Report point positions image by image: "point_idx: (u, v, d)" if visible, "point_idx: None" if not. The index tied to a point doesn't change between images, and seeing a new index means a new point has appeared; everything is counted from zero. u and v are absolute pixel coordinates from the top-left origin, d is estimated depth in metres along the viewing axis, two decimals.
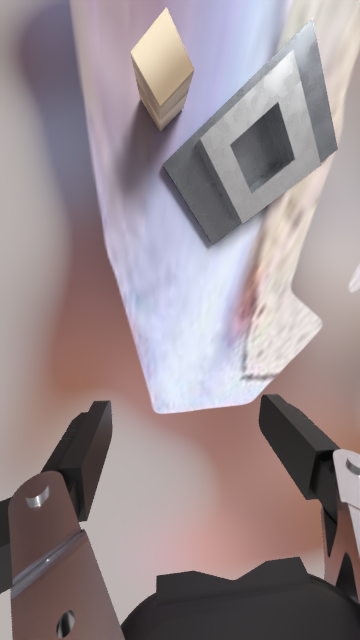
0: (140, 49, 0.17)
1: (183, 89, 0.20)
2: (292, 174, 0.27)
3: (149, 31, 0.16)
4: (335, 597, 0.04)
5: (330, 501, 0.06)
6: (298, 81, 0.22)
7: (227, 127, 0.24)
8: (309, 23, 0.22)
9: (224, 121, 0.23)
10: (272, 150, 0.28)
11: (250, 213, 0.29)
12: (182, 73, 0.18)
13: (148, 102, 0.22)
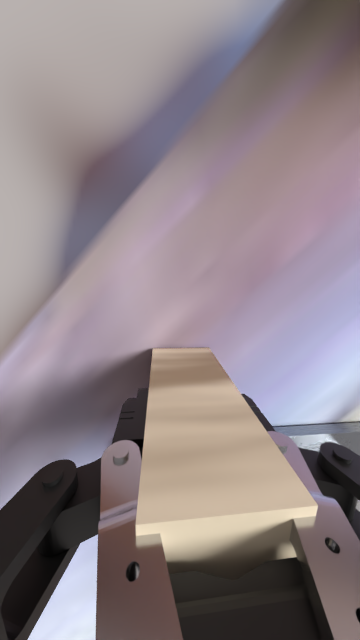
0: (175, 535, 0.04)
1: None
2: None
3: (234, 518, 0.04)
4: None
5: None
6: None
7: None
8: None
9: None
10: None
11: None
12: None
13: None
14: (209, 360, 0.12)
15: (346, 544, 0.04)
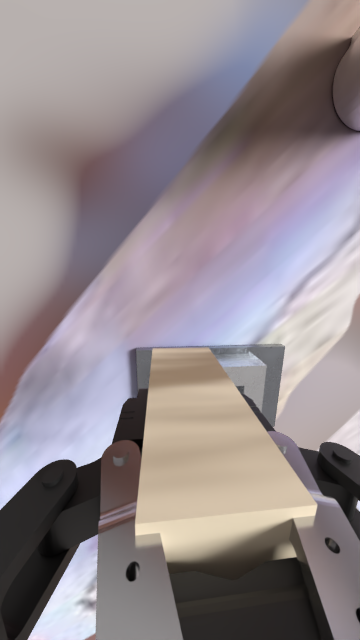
0: (174, 535, 0.04)
1: None
2: None
3: (234, 517, 0.04)
4: None
5: None
6: (262, 384, 0.26)
7: None
8: (282, 347, 0.29)
9: None
10: None
11: None
12: None
13: None
14: (209, 360, 0.12)
15: (346, 544, 0.04)
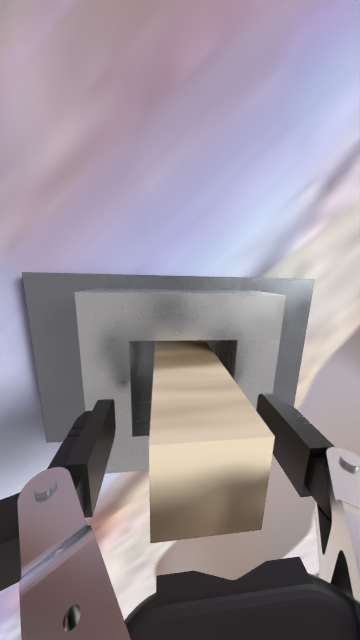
0: (175, 454, 0.06)
1: None
2: None
3: (216, 443, 0.06)
4: (335, 597, 0.04)
5: (324, 499, 0.07)
6: (276, 337, 0.12)
7: (138, 315, 0.11)
8: (309, 280, 0.16)
9: (137, 301, 0.11)
10: None
11: (115, 465, 0.13)
12: (235, 523, 0.07)
13: None
14: (204, 349, 0.14)
15: None
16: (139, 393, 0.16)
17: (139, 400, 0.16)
